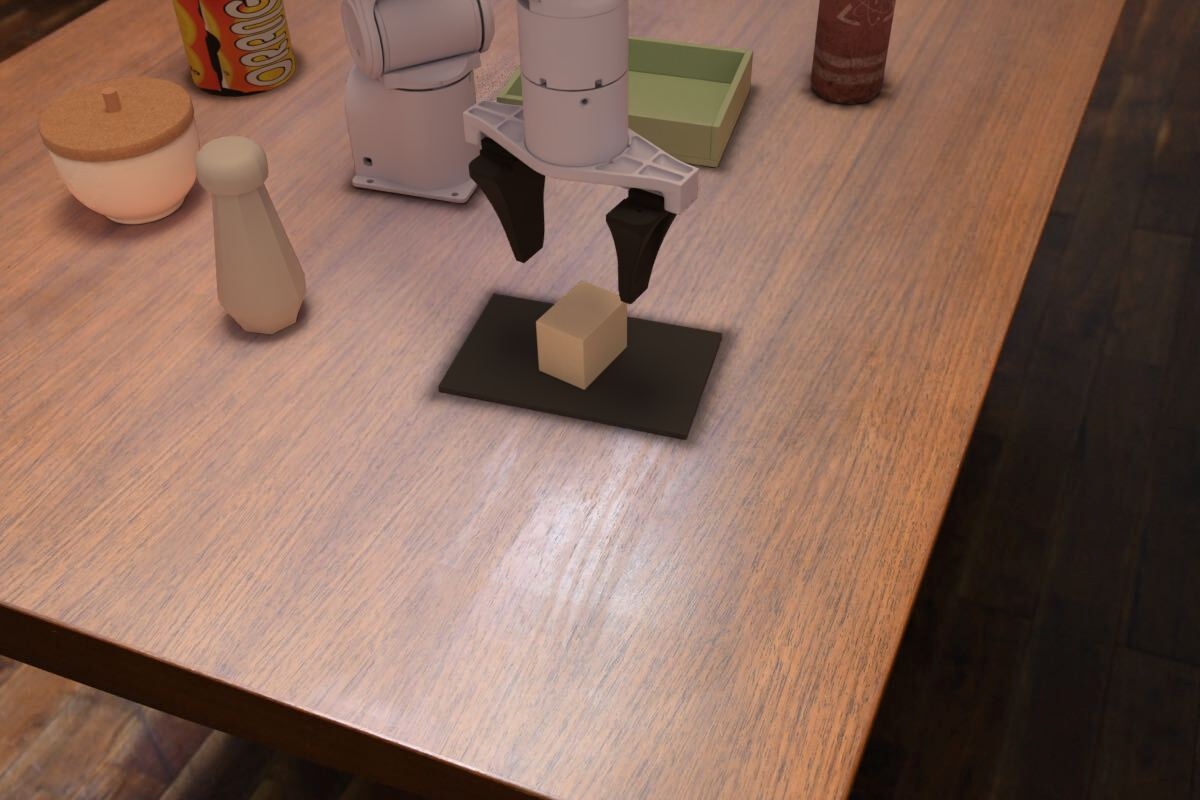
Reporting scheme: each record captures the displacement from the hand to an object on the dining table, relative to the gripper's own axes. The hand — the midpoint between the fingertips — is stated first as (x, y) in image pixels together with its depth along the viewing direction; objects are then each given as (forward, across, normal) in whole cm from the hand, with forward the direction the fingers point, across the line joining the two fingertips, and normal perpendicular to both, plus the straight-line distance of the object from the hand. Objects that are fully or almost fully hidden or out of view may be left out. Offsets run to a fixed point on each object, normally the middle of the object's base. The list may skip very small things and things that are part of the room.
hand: (580, 273), depth 73 cm
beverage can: (+7, +48, -17) cm, 51 cm away
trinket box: (+7, +39, +2) cm, 40 cm away
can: (+7, +1, -42) cm, 43 cm away
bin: (+7, +15, -29) cm, 33 cm away
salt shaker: (+7, +21, +7) cm, 23 cm away
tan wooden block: (+7, 0, 0) cm, 7 cm away
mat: (+7, 0, 0) cm, 7 cm away
